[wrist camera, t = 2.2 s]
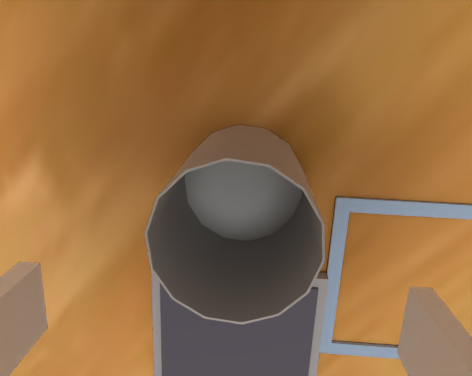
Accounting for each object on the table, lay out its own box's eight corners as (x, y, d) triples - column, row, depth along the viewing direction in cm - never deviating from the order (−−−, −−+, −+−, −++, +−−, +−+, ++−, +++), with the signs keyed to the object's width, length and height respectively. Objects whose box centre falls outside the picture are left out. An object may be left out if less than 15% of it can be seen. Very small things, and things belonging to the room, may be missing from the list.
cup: (206, 250, 29) (180, 339, 20) (167, 146, 27) (117, 190, 18) (317, 220, 28) (345, 300, 19) (285, 109, 26) (299, 135, 16)
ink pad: (154, 260, 30) (150, 269, 29) (326, 272, 29) (329, 281, 28) (158, 395, 34) (154, 408, 32) (309, 408, 33) (311, 421, 32)
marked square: (335, 196, 27) (336, 197, 27) (527, 207, 27) (530, 208, 26) (317, 350, 31) (317, 352, 31) (483, 362, 31) (485, 365, 30)
